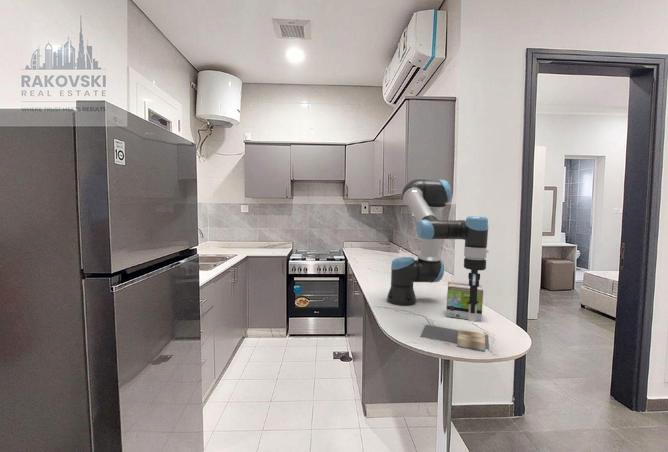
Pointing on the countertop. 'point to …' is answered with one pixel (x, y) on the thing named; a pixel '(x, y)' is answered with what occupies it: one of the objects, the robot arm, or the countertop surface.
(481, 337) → the tile
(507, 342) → the countertop surface
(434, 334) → the mat
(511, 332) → the countertop surface
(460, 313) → the tea box
